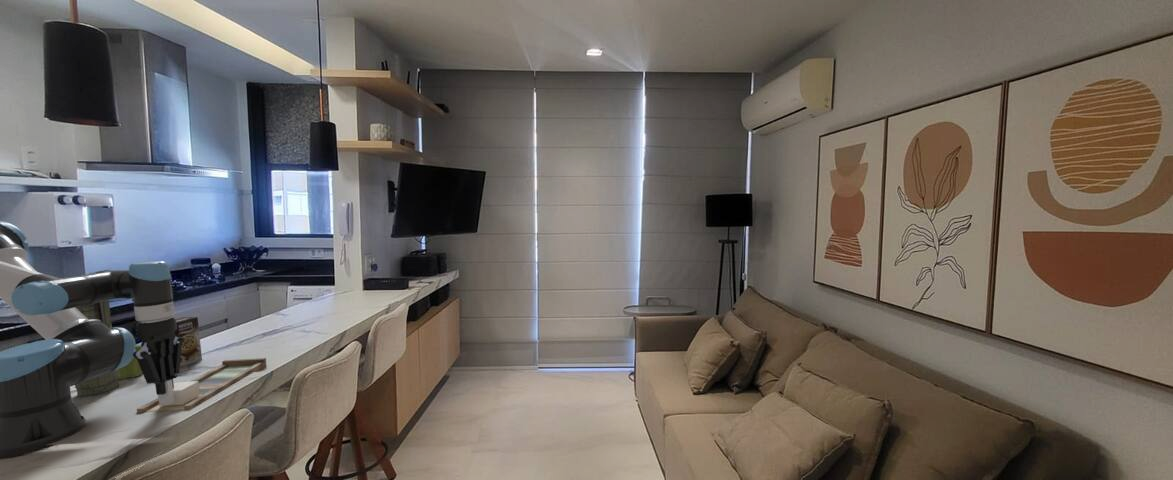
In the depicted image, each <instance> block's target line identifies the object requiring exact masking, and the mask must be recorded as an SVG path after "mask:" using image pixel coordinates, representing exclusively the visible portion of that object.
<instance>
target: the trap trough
mask: <svg viewBox="0 0 1173 480" xmlns="http://www.w3.org/2000/svg"><path fill="white" fill-rule="evenodd" d="M221 363H222V364H220V365H219V366H216V367H214V368H213V369H211V370H209V371H207V372H205V373H203V374H201V375H199V376H197V377H196V378H194V379H192V380H190V381H189V382H193V381H199V389H200V395H199V396H198V397H196V398H194V399H192V400H191V401H189V402H187V403H186V404H184V405H172V406H160V405H159V399H158V397H157V398H155V399H153V400H152V401H150V402H147V403H146V404H144V405H141V406H139V407H138V408H137V409H136V413H137V414H138V413H139V414H140V413H141V414H142V413H153V412H166V411H167V412H168V411H181V410H182V411H183V410H192V409H193V408H195V407H197V406H198V405H200V404H202V403H203V402H205V401H206V400H208V399H210V398H211V397H213V396H215V395H216V394H218V393H220V392H221V391H223V390H225V389H227V388H228V387H230V386H231V385H233V384H235V383H236V382H238V381H240V380H241V379H243V378H245V377H246V376H248V375H250V374H252V373H257V372H260V371H261V370H263V369H264V368H266V367H267V366H268V365H267V358H266V357H260V358H243V359H226V360H225V359H224V360H223V361H222V362H221Z"/></svg>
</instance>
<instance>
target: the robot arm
mask: <svg viewBox="0 0 1173 480" xmlns="http://www.w3.org/2000/svg"><path fill="white" fill-rule="evenodd" d="M26 240H28V238H27V236H26V235H25V233H24V232H23V231H22V230H21V229H20V228H19V227H17V226H16V225H14V224H12V223H9V222H6V221H2V220H0V299H1V300H2V301H3V302H4V303H5V304H6V305H7V306H8V307H9V308H11V309H12V310H13V311H14V312H15V313H16V314H17V315H19V317H20V318H22V319H23V320H24V321H25V322H26V323H27V324H28V325H29V326H30V327H31V328H32V329H34V330H35V331H36V332H37V333H38V334H39V335H40V336H41V337H42V338H44V339H42V340H41V339H40V340H36V341H33V342H30V343H23V344H19V345H16V346H12V347H10V348H6V349H4V350H2V351H0V459H5V458H12V457H17V456H23V455H27V454H31V453H35V452H38V451H42V450H45V449H48V448H50V447H51V448H52V447H54V446H56V445H58V443H57V442H59V441H62V440H64V439H66V438H69V437H71V436H73V435H75V434H77V433H79V432H81V430H83V429H84V428H85V427H86V425H87V422H86V418H85V417H84V415H82V414H81V412H80V411H79V409H78V407H77V406H76V404H75V403H74V401H73V400H72V394H71V393H72V392H71V387H74V386H75V385H76V384H79V383H82V382H85V381H88V380H90V379H93V378H96V377H99V376H102V375H105V374H109V373H112V372H114V371H115V370H118V369H120V368H122V367H124V366H126V365H127V364H129V363H130V361H131V360H132V359H133V357H135V358H136V359H137V360H138V363H139V365H140V368H141V370H142V373H143V374H142V375H143V377H144V380H145V382H146V384H154V386H155V393H156V395H157V398H158V399H159V405H171V404H172V403H174V402H175V400H174V392H173V389H174V379H177V378H178V375H177V374H179V373H180V372H181V370H180V369H181V367H180V360H181V347H182V343H183V341H184V338H183V337H180V338H178V337H175V333H174V331H176V329H177V325H176V319H177V318H176V317H175V306H174V304H175V303H174V295H173V287H172V275H171V270H170V267H169V264H168V262H166V261H164V260H154V261H153V260H152V261H141V262H140V261H139V262H134V263H130V264H129V266H128V269H126V270H124V269H123V270H111V269H105V270H99V271H92V272H89V273H87V274H82V275H75V276H69V277H56V276H53V275H50V274H49V275H48V274H45V273H41V272H38V271H37V269H35V268H34V267H33V266H31V264H30V263H28V262H27V261H26V260H27V257H28V251H29V242H28V241H26ZM119 299H123V300H124V299H132V301H133V310H134V319H135V321H136V322H137V323H136V325H135V326H136V334H137V337H140V338H141V339H142V340H141V344H140V346H142V348H141V349H140V350H139V351H138V352H135V351H136V350H135V347H136V339H135V337H134V336H133V334H132V333H131V332H130V331H129V330H128V329H126V328H124V327H116V326H112V328H110V329H109V328H108V327H107V326H106V325H105V324H104V323H103V322H102V321H100V320H97V319H87V318H86V317H85V316H84V315H83V314H82V313H81V312H80V311H79V310H78V309H77V308H76V307H79V306H83V305H89V304H94V303H98V302H103V301H108V300H109V301H112V300H119ZM54 443H57V444H54Z"/></svg>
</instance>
